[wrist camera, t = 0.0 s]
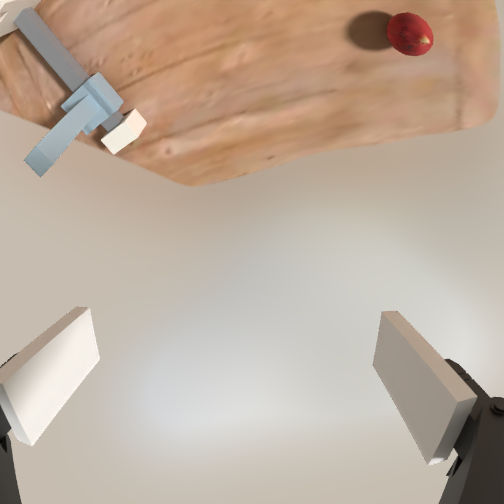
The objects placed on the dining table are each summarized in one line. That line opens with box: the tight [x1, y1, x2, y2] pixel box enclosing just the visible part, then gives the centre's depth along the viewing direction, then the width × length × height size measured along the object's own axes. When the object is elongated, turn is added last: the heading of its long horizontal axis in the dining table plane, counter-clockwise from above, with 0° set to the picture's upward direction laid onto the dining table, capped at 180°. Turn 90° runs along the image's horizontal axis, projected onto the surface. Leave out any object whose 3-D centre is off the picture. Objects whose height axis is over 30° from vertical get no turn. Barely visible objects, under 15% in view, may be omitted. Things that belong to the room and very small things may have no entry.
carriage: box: [24, 72, 124, 177], centre depth 31 cm, size 6×6×17 cm
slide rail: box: [0, 0, 147, 154], centre depth 29 cm, size 32×8×10 cm, turn 29°
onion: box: [386, 12, 433, 56], centre depth 27 cm, size 6×6×8 cm
